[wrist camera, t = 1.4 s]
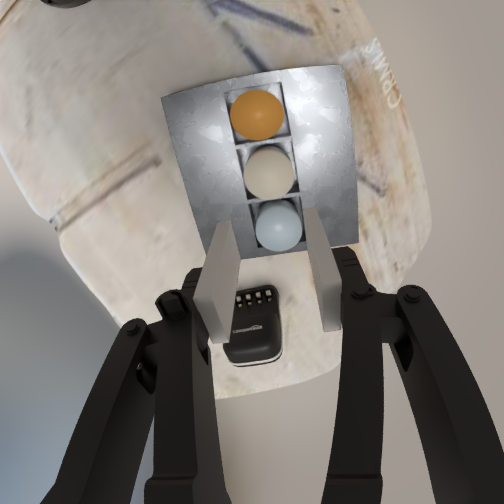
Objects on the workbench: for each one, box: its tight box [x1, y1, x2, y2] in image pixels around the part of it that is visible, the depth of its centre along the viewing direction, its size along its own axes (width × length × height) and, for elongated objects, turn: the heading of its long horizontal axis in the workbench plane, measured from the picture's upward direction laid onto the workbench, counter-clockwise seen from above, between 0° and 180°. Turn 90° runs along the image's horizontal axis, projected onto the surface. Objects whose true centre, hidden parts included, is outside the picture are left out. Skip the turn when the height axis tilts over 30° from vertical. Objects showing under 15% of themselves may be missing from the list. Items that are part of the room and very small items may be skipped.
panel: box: [161, 65, 359, 259], centre depth 29 cm, size 20×18×3 cm
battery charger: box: [223, 286, 283, 367], centre depth 36 cm, size 7×4×11 cm, turn 108°
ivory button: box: [244, 146, 294, 200], centre depth 28 cm, size 5×5×3 cm
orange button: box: [230, 90, 284, 140], centre depth 24 cm, size 5×5×3 cm
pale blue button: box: [256, 199, 302, 251], centre depth 31 cm, size 5×5×3 cm
